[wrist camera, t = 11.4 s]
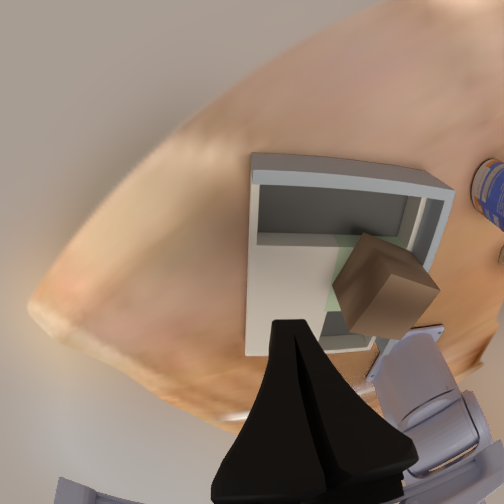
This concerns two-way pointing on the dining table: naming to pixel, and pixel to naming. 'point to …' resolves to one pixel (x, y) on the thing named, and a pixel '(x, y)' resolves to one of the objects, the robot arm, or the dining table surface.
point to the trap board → (329, 237)
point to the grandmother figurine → (501, 256)
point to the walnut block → (382, 289)
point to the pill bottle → (490, 191)
